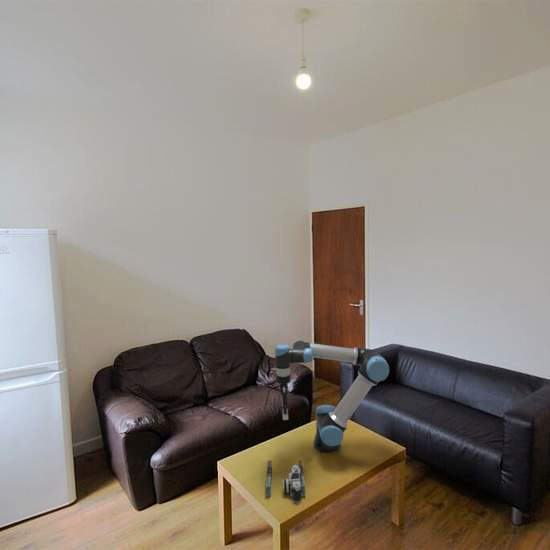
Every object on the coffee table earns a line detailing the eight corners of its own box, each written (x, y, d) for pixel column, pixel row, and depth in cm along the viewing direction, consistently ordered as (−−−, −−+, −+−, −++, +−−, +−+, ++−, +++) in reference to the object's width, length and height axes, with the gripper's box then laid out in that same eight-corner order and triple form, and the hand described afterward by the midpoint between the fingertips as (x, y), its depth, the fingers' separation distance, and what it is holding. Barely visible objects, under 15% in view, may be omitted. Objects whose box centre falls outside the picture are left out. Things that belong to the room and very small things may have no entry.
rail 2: (302, 469, 187) (302, 459, 187) (305, 496, 167) (304, 485, 167) (298, 469, 187) (298, 459, 187) (300, 496, 167) (300, 485, 167)
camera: (283, 479, 180) (282, 460, 179) (300, 479, 180) (300, 460, 179) (283, 502, 164) (283, 482, 163) (302, 502, 164) (302, 481, 163)
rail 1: (271, 469, 188) (271, 459, 187) (270, 496, 168) (270, 486, 167) (268, 469, 188) (267, 459, 187) (266, 496, 168) (265, 486, 167)
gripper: (275, 366, 202) (277, 402, 204) (276, 384, 177) (278, 425, 179) (289, 365, 202) (290, 402, 204) (291, 383, 177) (293, 424, 179)
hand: (284, 413), depth 192 cm, fingers open, 13 cm apart
